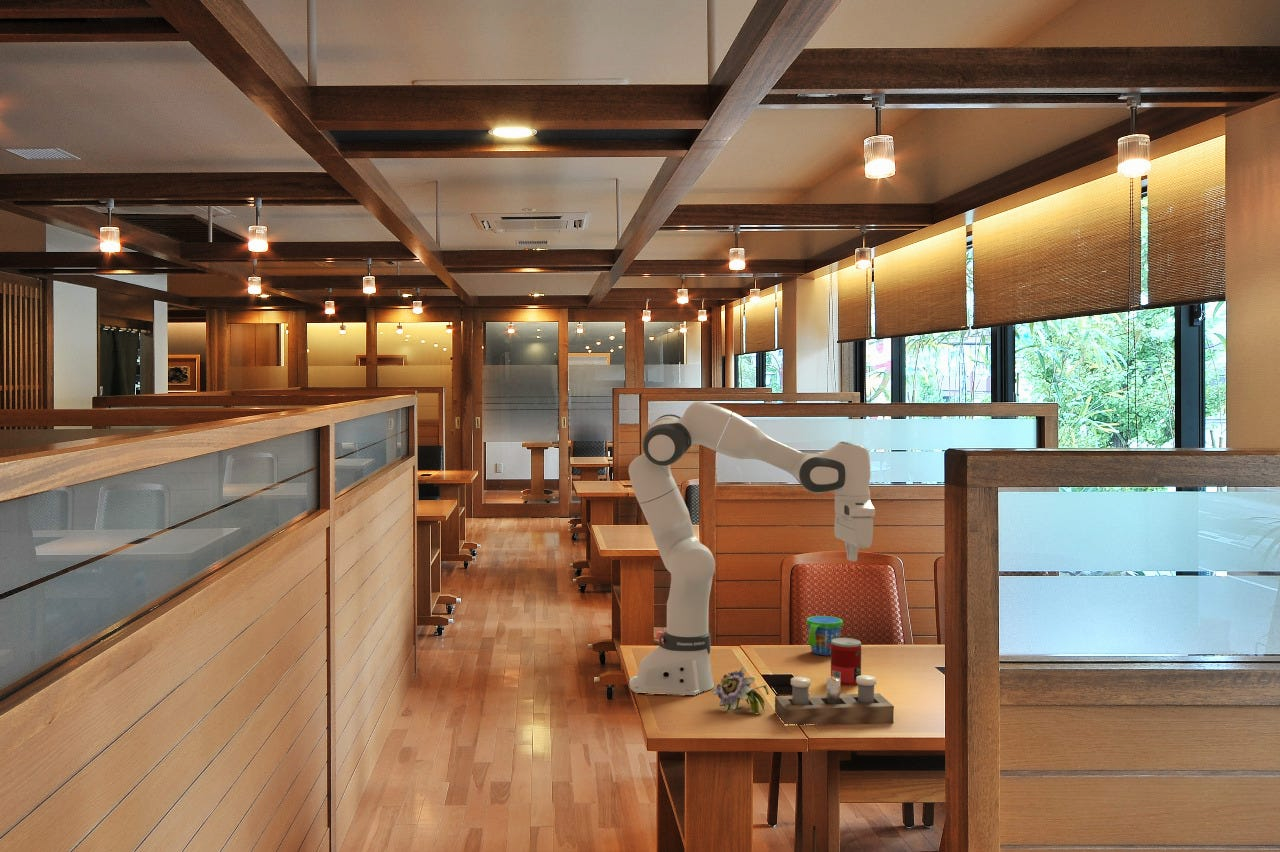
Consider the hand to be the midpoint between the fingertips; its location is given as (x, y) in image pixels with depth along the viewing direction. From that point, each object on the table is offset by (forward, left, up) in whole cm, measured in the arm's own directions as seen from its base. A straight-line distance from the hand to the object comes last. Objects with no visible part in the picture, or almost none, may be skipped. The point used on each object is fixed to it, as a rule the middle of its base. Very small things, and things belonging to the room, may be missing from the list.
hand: (852, 560), depth 251 cm
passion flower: (-30, -6, -35) cm, 47 cm away
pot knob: (-9, -15, -32) cm, 36 cm away
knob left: (-17, -15, -35) cm, 42 cm away
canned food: (+3, +14, -35) cm, 38 cm away
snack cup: (+6, +44, -35) cm, 56 cm away
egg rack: (-9, -15, -35) cm, 39 cm away
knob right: (-1, -15, -35) cm, 38 cm away
